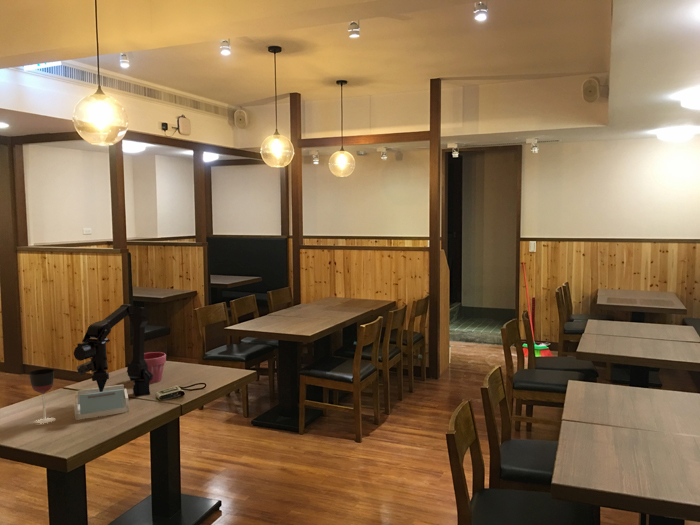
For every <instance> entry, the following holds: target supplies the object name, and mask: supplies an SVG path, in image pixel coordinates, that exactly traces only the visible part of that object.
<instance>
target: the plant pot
mask: <svg viewBox="0 0 700 525" xmlns="http://www.w3.org/2000/svg"><path fill="white" fill-rule="evenodd" d="M144 359H145V361H146V363H147V365H148V371H149V372H150V373H151V374H152V375H153V378H152V380H151V381H149V384H154V383H155V384H156V383H159V382H161V381H162V379H163V373H164V368H165V363H166V362H167V354H166V353H165V352H161V351H155V352H154V351H149V352H144Z"/></svg>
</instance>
